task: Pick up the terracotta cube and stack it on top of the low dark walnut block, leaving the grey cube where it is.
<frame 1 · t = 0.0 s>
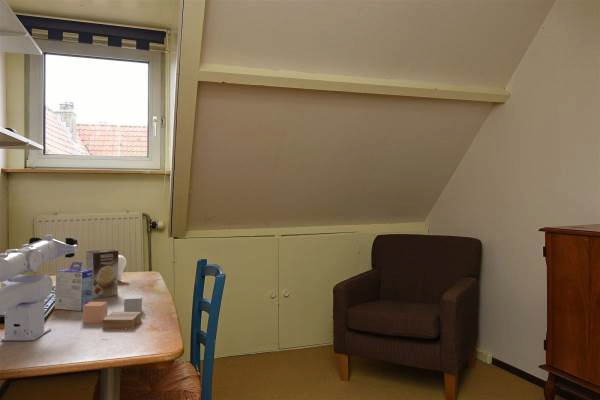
hand: (63, 242, 138), 22 cm above the table, tool horizontal, fingers open, 7 cm apart
coffee box: (101, 296, 165), on the table
ink cartridge box: (73, 309, 147), on the table
terracotta cube: (95, 321, 133), on the table
grey cube: (133, 313, 143), on the table
walnut block: (122, 326, 130), on the table
lightbulb: (118, 281, 191), on the table
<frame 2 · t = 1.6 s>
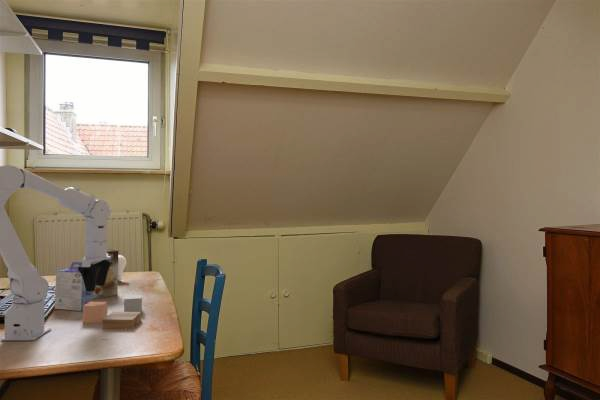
hand: (95, 288, 133), 9 cm above the table, tool pointing down, fingers open, 7 cm apart
nothing on the table moved.
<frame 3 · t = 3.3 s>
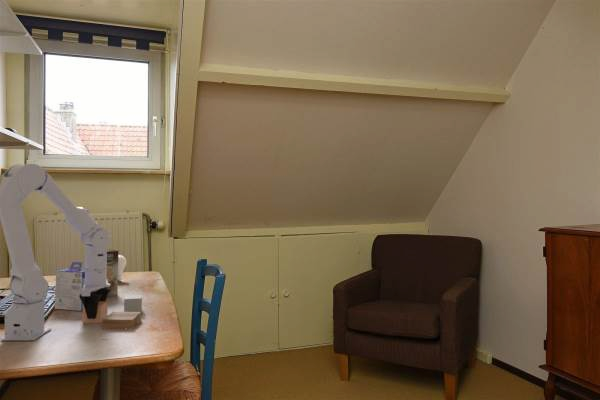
hand: (95, 315, 133), 1 cm above the table, tool pointing down, fingers closed on terracotta cube, 5 cm apart
terracotta cube: (95, 320, 133), on the table, touching gripper
everything else where it was.
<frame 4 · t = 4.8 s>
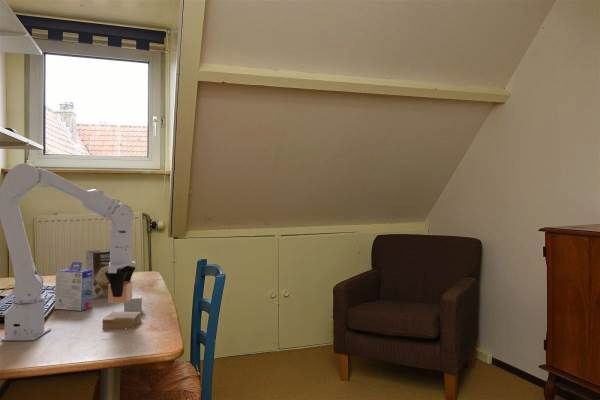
hand: (120, 294, 130), 8 cm above the table, tool pointing down, fingers closed on terracotta cube, 5 cm apart
terracotta cube: (120, 300, 130), point 7 cm above the table, touching gripper
everything else where it was.
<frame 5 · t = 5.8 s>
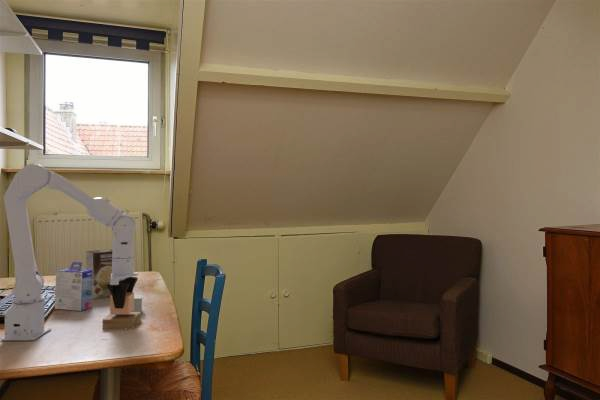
hand: (122, 305, 130), 5 cm above the table, tool pointing down, fingers closed on terracotta cube, 5 cm apart
terracotta cube: (122, 312, 130), point 4 cm above the table, touching gripper
everything else where it was.
when the fingers open (5 cm above the table, at t = 6.3 s): terracotta cube drops 1 cm, resting on walnut block.
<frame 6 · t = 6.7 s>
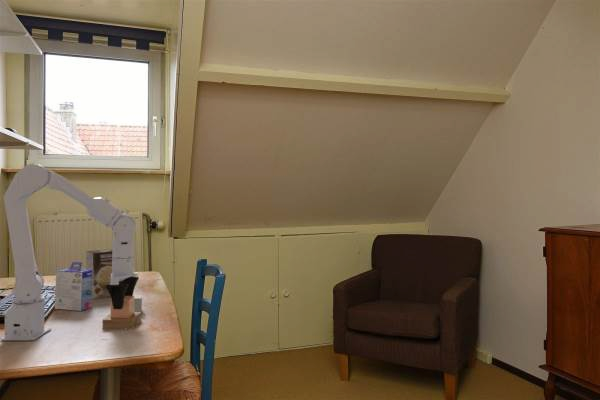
hand: (122, 305, 130), 5 cm above the table, tool pointing down, fingers open, 7 cm apart
terracotta cube: (122, 315, 130), point 3 cm above the table, touching walnut block
walnut block: (122, 326, 130), on the table, touching terracotta cube
everything else where it was.
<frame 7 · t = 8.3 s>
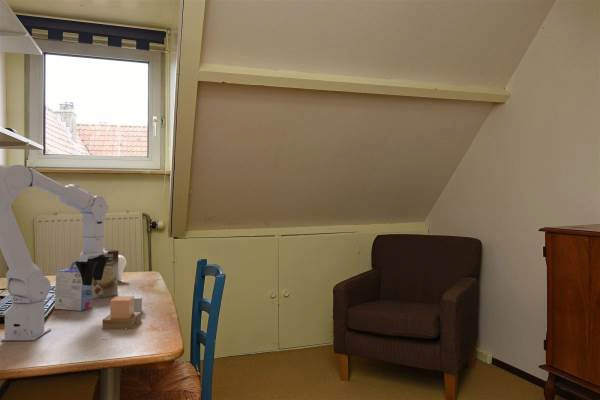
hand: (92, 282, 136), 10 cm above the table, tool pointing down, fingers open, 7 cm apart
nothing on the table moved.
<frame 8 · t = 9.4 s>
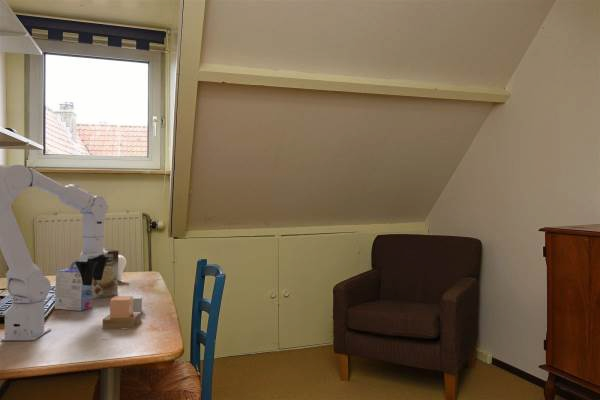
hand: (92, 282, 136), 10 cm above the table, tool pointing down, fingers open, 7 cm apart
terracotta cube: (121, 315, 130), point 3 cm above the table
walnut block: (122, 326, 130), on the table
everything else where it was.
at the end: terracotta cube 0.4 cm off-centre on the walnut block, point 3.0 cm above the walnut block's base; terracotta cube tilted 0°; the gripper is holding nothing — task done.
